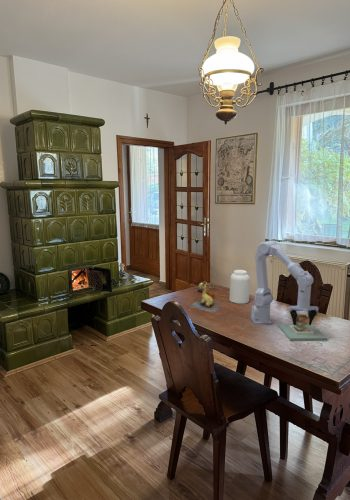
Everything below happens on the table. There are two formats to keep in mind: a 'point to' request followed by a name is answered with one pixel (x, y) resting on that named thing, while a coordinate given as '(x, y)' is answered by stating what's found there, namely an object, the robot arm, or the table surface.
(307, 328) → the block stack
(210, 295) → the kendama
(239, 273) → the white jar
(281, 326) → the plate
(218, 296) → the table surface
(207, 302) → the yellow giraffe figurine
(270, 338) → the table surface
